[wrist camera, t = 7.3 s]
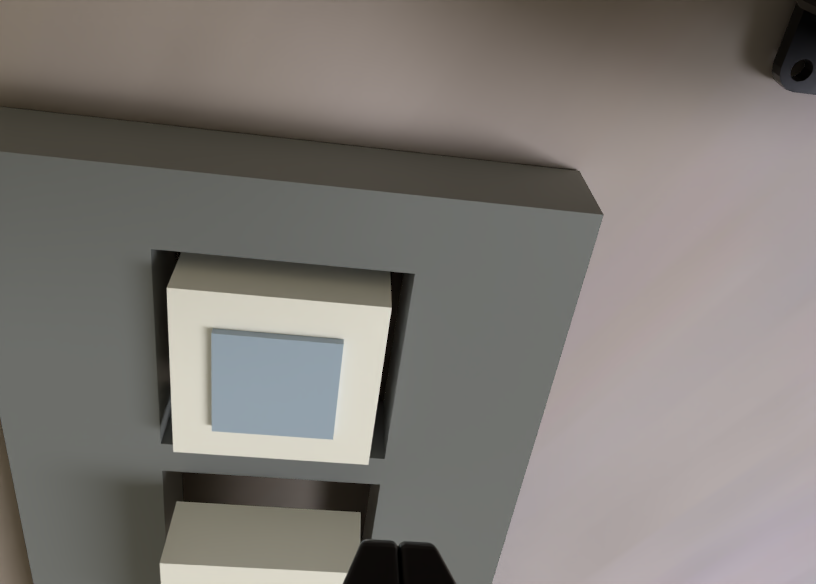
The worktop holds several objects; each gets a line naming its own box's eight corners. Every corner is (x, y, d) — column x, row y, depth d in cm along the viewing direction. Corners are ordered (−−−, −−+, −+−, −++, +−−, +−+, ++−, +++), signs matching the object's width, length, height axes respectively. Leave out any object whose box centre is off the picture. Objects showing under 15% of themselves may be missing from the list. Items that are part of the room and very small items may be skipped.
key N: (389, 262, 19) (392, 312, 17) (368, 413, 22) (368, 470, 20) (185, 243, 19) (164, 292, 17) (188, 400, 21) (171, 457, 19)
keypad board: (579, 170, 19) (603, 214, 17) (433, 699, 32) (438, 759, 30) (-6, 106, 18) (-54, 145, 16) (86, 687, 31) (66, 750, 29)
